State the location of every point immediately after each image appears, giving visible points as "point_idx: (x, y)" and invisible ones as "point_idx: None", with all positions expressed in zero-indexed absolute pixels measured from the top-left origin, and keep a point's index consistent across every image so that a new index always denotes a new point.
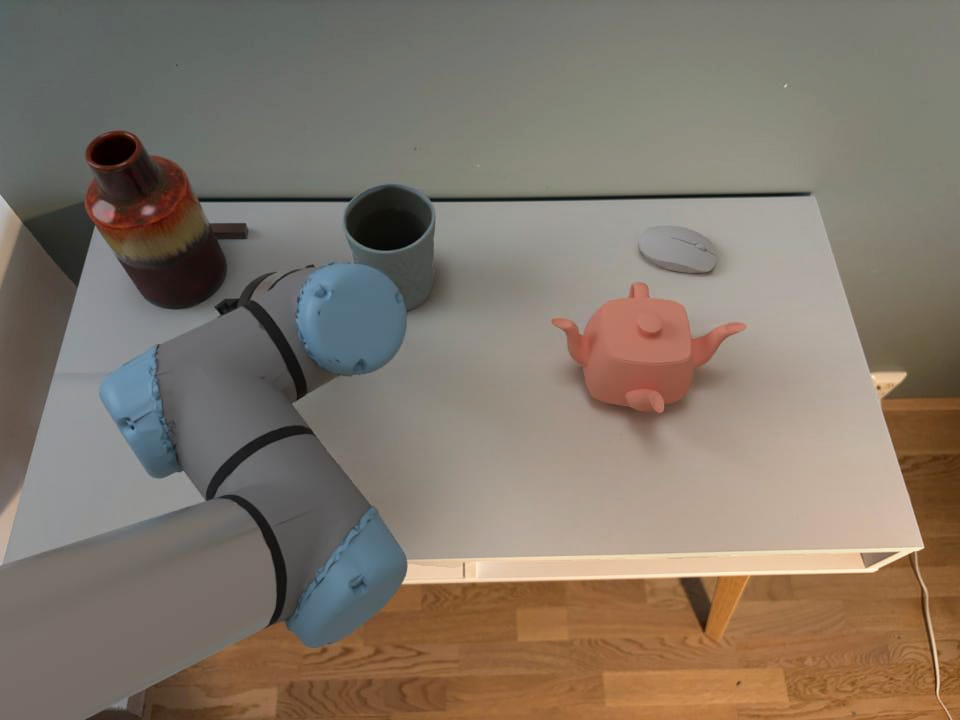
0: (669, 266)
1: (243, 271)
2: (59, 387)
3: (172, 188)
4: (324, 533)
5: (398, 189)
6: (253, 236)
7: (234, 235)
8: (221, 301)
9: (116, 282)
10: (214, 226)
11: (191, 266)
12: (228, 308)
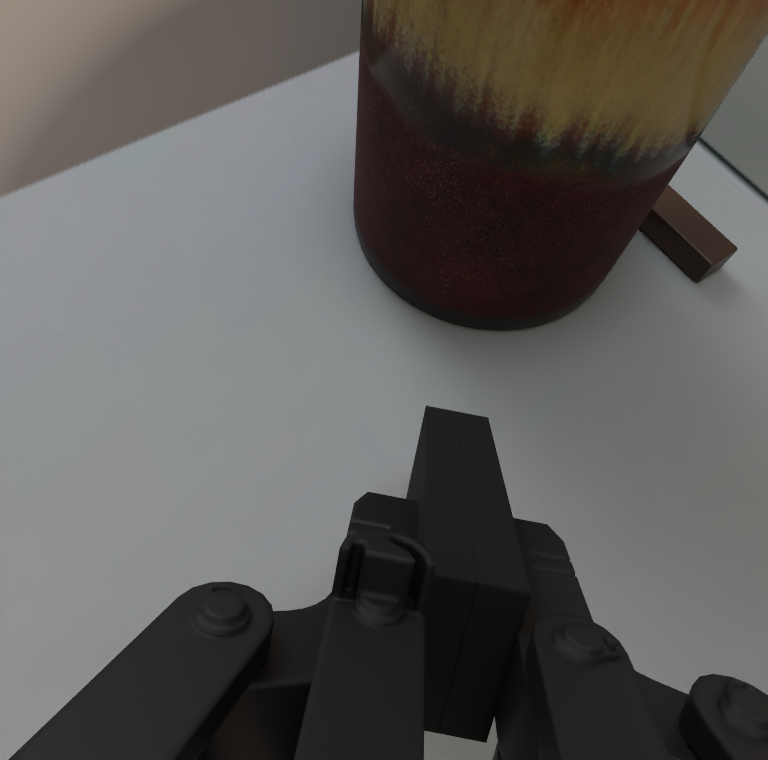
0: None
1: (610, 350)
2: (3, 196)
3: None
4: None
5: None
6: (716, 294)
7: (679, 250)
8: (465, 416)
9: (353, 114)
10: None
11: (511, 214)
12: (413, 600)
